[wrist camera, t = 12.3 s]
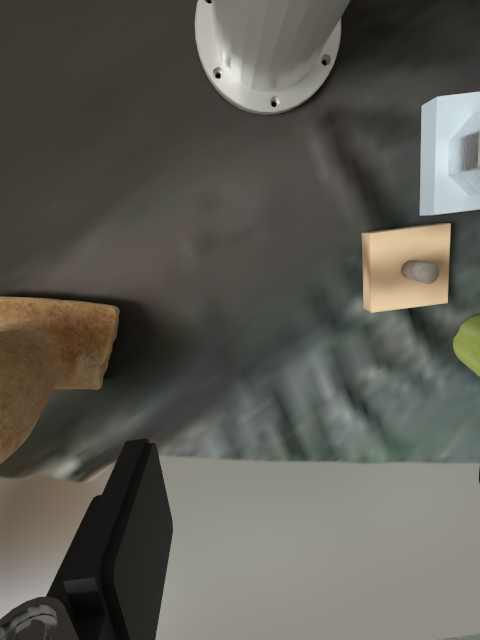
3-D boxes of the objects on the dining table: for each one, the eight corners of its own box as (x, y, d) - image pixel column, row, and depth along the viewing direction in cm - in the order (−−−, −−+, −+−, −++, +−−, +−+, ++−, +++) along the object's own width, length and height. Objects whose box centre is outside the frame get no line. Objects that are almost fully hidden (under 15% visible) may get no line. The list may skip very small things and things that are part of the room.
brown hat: (-17, 392, 39) (-158, 491, 25) (-26, 286, 36) (-194, 329, 22) (122, 402, 40) (65, 504, 26) (124, 301, 37) (61, 351, 23)
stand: (361, 232, 36) (385, 234, 31) (438, 223, 36) (475, 223, 31) (363, 308, 38) (386, 321, 33) (436, 298, 38) (470, 311, 33)
